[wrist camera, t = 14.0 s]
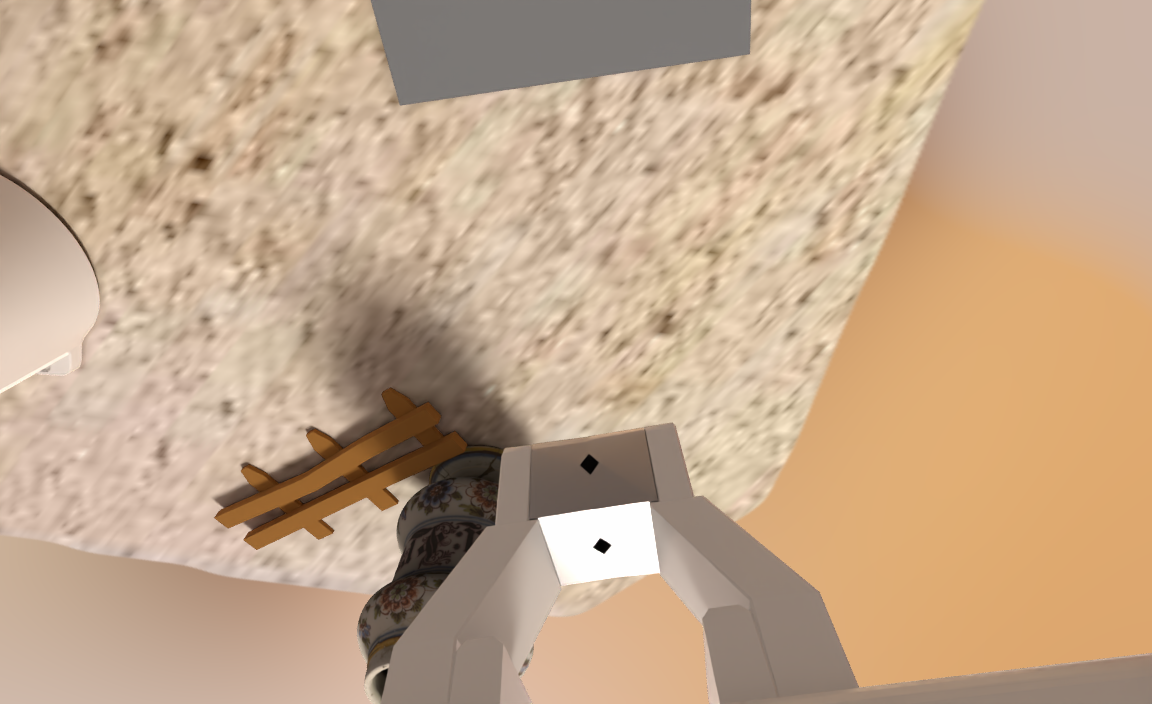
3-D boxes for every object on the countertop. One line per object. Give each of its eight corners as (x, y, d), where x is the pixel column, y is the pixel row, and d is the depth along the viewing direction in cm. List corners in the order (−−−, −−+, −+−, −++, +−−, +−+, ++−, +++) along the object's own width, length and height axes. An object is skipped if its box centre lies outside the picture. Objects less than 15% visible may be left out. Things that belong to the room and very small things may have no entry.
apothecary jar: (390, 460, 49) (292, 670, 34) (512, 415, 46) (464, 625, 30) (463, 546, 54) (408, 760, 39) (576, 512, 51) (564, 731, 36)
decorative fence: (487, 455, 49) (412, 372, 45) (483, 471, 47) (404, 387, 43) (286, 548, 57) (205, 485, 52) (276, 565, 55) (192, 501, 51)
